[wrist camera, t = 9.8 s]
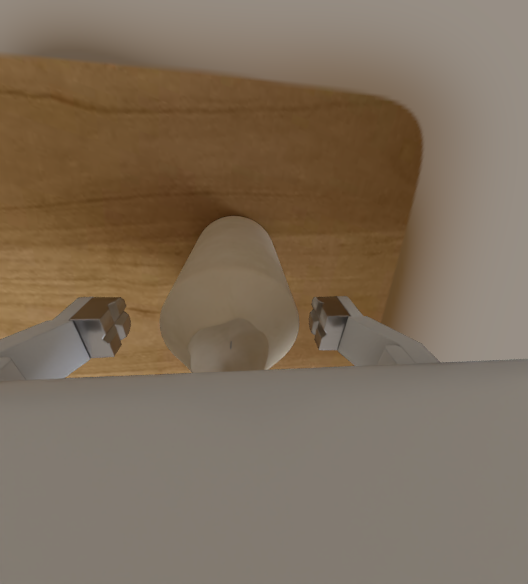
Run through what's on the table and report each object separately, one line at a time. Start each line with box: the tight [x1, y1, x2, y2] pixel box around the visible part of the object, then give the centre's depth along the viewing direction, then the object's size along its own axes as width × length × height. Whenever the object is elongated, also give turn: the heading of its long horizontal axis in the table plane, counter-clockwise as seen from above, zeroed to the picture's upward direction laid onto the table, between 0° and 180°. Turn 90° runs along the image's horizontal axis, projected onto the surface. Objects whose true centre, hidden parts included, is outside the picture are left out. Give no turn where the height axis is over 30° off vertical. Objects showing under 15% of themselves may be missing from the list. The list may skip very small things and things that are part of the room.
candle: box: [160, 216, 299, 373], centre depth 12 cm, size 6×6×10 cm
